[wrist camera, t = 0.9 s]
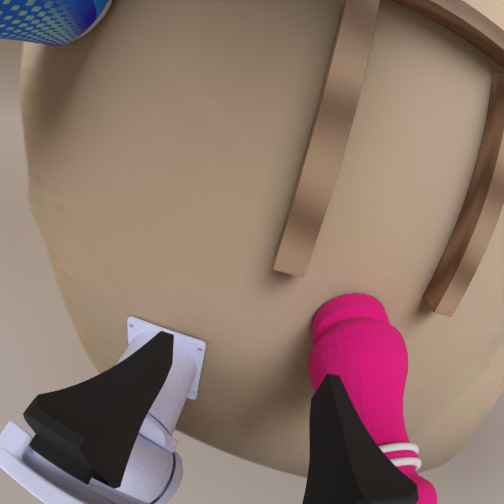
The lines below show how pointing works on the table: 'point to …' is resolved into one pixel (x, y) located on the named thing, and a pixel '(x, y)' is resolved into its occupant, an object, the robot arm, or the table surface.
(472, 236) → the u rest
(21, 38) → the beer can
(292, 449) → the table surface
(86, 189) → the table surface
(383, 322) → the pepper mill
